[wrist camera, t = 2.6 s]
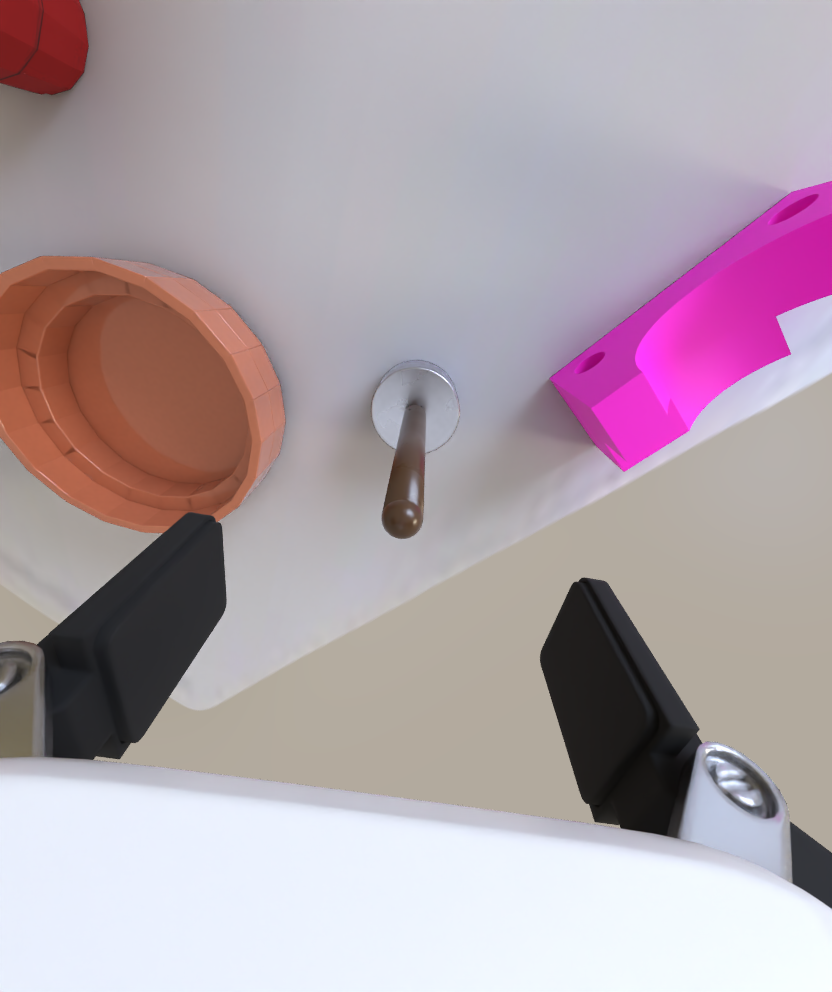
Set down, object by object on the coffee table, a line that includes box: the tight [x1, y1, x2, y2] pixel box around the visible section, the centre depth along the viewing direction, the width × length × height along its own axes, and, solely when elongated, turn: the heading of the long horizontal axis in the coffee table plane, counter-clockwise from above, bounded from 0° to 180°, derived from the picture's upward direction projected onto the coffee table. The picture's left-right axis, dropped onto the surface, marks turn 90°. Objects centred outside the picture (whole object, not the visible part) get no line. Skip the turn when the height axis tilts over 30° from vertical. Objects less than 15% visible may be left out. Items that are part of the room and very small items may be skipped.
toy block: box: [550, 181, 832, 472], centre depth 21 cm, size 15×6×8 cm, turn 131°
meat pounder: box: [371, 360, 460, 539], centre depth 19 cm, size 6×6×16 cm
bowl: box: [0, 256, 286, 533], centre depth 25 cm, size 16×16×5 cm
